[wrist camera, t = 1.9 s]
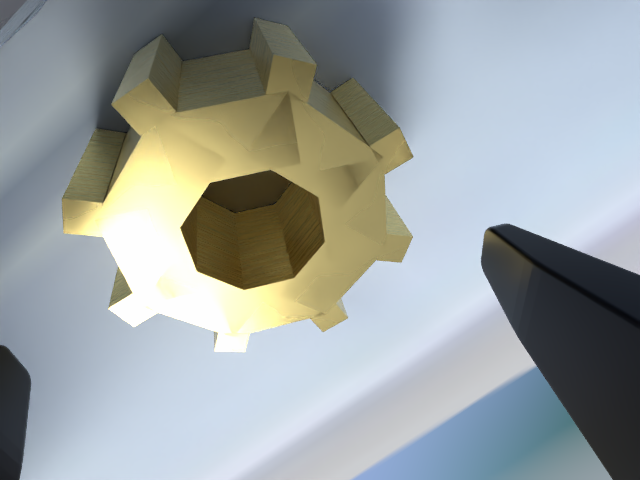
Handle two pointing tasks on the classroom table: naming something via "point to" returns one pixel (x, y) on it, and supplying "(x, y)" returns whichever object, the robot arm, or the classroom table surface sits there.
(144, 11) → the classroom table surface
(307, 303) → the planet gear
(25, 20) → the tray
